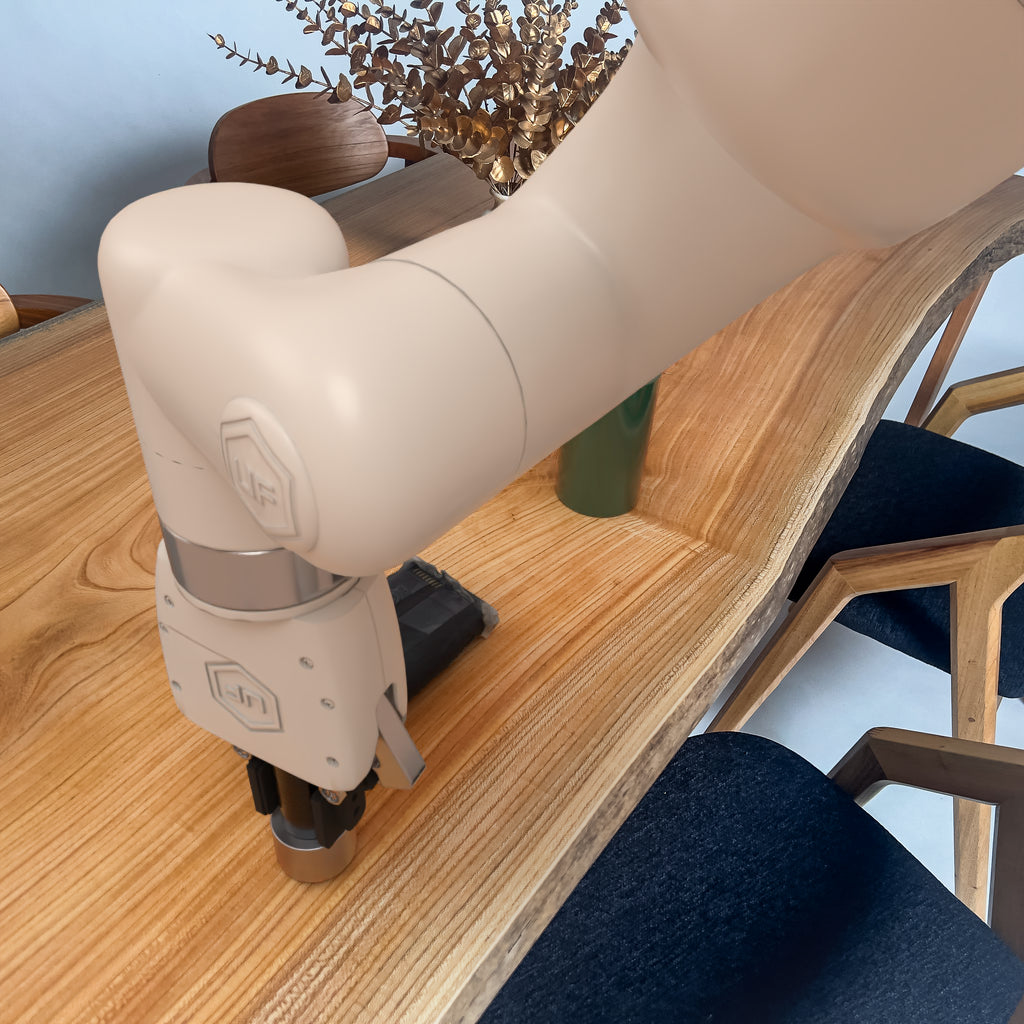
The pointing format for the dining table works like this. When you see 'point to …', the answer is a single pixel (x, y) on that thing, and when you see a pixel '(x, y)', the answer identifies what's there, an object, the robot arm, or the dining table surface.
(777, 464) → the dining table surface
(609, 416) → the bottle
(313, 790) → the torch
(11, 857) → the dining table surface
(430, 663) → the electronic device
